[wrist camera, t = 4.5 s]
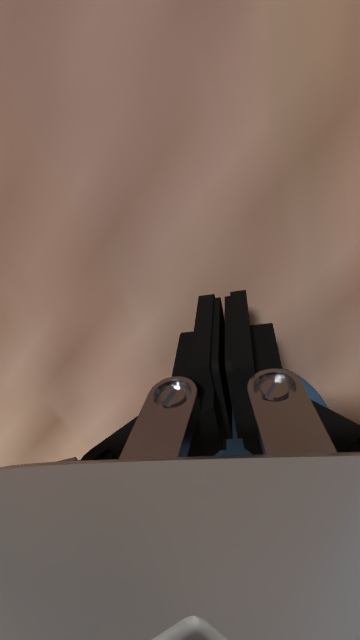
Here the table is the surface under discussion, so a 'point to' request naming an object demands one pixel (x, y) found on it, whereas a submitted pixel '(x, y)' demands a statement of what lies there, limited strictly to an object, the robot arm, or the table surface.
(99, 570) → the robot arm
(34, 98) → the table surface
